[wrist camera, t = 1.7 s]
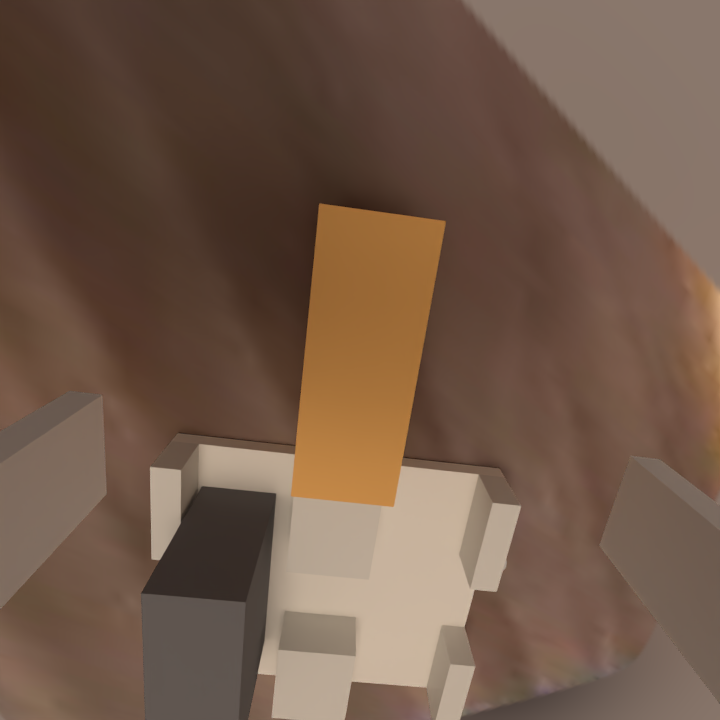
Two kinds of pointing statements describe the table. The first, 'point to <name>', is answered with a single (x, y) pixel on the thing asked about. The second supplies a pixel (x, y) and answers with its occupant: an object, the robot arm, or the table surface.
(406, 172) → the table surface
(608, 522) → the robot arm
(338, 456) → the tall orange brick
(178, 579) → the dark gray brick
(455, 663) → the rack
